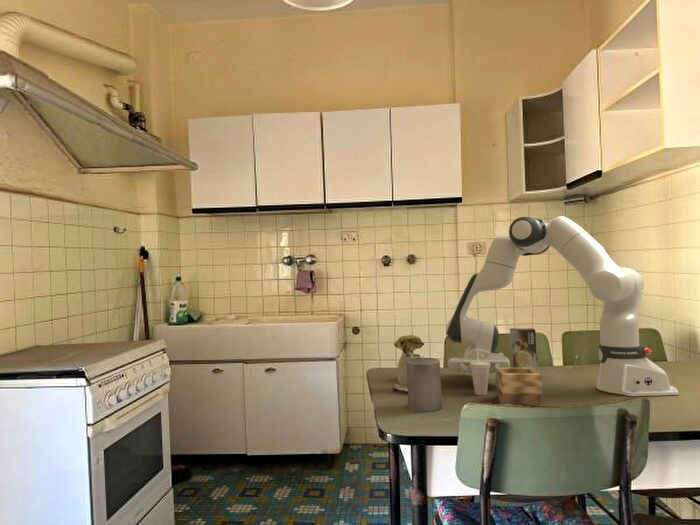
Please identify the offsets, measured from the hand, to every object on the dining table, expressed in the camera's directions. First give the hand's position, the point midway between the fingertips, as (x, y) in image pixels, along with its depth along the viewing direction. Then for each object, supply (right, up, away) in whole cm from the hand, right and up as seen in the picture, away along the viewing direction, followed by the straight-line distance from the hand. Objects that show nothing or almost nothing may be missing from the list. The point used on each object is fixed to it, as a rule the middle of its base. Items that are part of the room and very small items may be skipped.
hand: (479, 369), depth 167 cm
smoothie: (0, -8, -2) cm, 8 cm away
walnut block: (+8, -7, -13) cm, 17 cm away
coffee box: (+26, -8, +35) cm, 45 cm away
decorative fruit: (-19, -9, +23) cm, 31 cm away
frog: (-21, -8, +5) cm, 23 cm away
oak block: (+8, -3, -13) cm, 15 cm away
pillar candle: (-20, -8, -17) cm, 28 cm away
